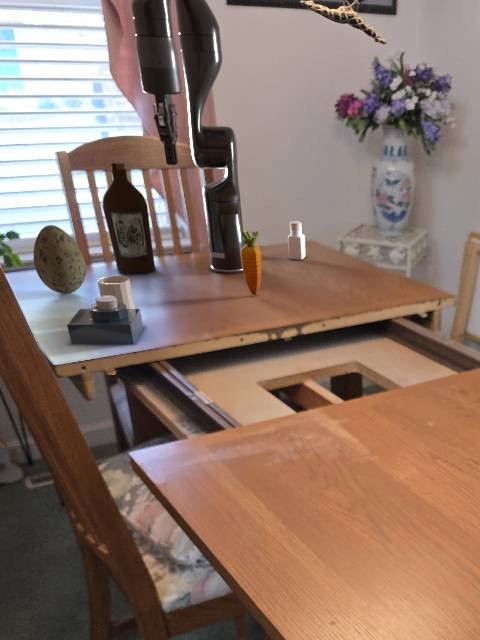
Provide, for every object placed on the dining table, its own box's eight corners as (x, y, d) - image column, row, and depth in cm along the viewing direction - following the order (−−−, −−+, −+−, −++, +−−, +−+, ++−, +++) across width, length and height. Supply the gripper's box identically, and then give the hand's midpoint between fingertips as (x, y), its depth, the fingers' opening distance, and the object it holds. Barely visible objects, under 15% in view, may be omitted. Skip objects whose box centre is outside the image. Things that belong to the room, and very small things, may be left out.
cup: (109, 312, 157) (101, 275, 152) (138, 312, 158) (132, 275, 153) (102, 322, 152) (94, 284, 147) (133, 322, 152) (125, 284, 148)
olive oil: (114, 265, 188) (94, 160, 174) (156, 263, 191) (139, 159, 177) (115, 276, 180) (94, 166, 166) (158, 273, 183) (141, 166, 169)
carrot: (267, 293, 173) (262, 227, 164) (261, 299, 169) (256, 232, 160) (247, 292, 173) (241, 226, 164) (241, 298, 169) (234, 231, 160)
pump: (95, 311, 140) (92, 301, 139) (99, 305, 143) (97, 295, 142) (116, 311, 141) (113, 301, 139) (120, 305, 144) (118, 295, 143)
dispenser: (71, 344, 140) (64, 314, 137) (84, 327, 148) (77, 299, 145) (133, 344, 142) (128, 314, 138) (143, 327, 150) (137, 299, 146)
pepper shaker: (288, 259, 200) (286, 223, 194) (292, 256, 203) (290, 220, 197) (302, 260, 199) (300, 224, 194) (306, 257, 202) (304, 221, 197)
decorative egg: (40, 301, 162) (22, 231, 153) (43, 287, 170) (26, 220, 161) (90, 298, 165) (75, 229, 156) (91, 285, 173) (77, 219, 164)
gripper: (173, 66, 133) (186, 169, 143) (183, 64, 143) (195, 160, 153) (132, 65, 132) (148, 168, 142) (145, 62, 143) (159, 159, 153)
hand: (172, 164), depth 148 cm, fingers closed
